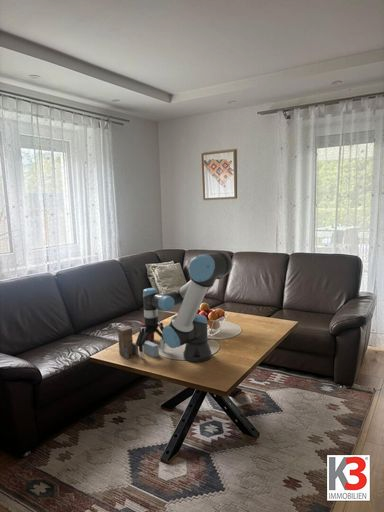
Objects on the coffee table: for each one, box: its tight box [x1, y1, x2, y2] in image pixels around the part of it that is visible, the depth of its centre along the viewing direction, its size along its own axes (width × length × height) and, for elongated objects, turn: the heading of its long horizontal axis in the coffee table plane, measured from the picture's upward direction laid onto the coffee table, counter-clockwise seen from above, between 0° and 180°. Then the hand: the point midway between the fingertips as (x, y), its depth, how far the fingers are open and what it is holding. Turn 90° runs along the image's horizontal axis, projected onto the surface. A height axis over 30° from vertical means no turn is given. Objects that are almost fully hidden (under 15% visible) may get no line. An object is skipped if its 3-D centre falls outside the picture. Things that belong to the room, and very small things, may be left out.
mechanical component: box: [140, 321, 155, 342], centre depth 225 cm, size 12×10×10 cm
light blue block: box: [143, 341, 160, 358], centre depth 205 cm, size 10×4×6 cm, turn 42°
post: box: [116, 325, 139, 360], centre depth 204 cm, size 9×7×15 cm
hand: (152, 353), depth 204 cm, fingers open, 13 cm apart
